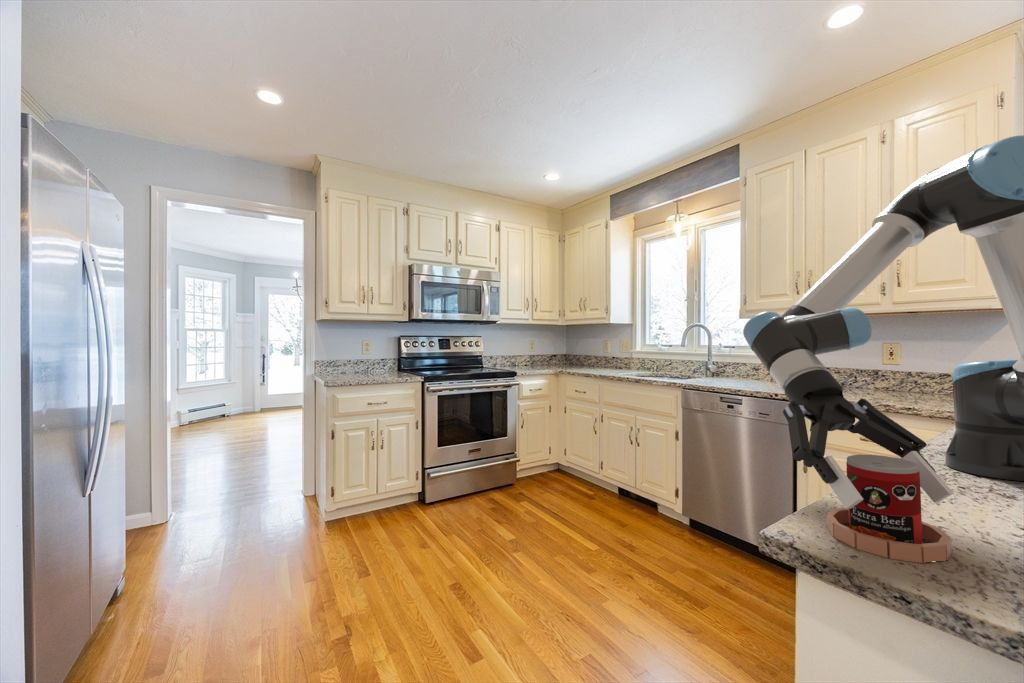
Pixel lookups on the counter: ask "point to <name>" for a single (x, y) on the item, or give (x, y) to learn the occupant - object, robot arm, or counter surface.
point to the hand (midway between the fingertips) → (900, 501)
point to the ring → (891, 549)
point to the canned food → (886, 498)
